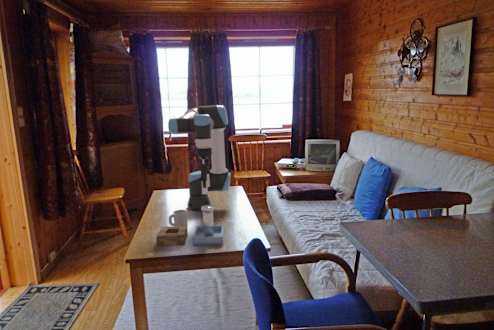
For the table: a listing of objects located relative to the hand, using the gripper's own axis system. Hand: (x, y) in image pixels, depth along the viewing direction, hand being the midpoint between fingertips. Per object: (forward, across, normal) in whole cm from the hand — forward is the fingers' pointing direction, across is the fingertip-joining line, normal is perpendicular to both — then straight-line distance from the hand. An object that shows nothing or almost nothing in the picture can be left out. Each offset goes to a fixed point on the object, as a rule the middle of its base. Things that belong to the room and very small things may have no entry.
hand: (206, 190), depth 177 cm
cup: (+25, -17, -18) cm, 35 cm away
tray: (+25, +1, 0) cm, 25 cm away
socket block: (+25, +1, -18) cm, 30 cm away
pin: (+24, +1, 0) cm, 24 cm away
